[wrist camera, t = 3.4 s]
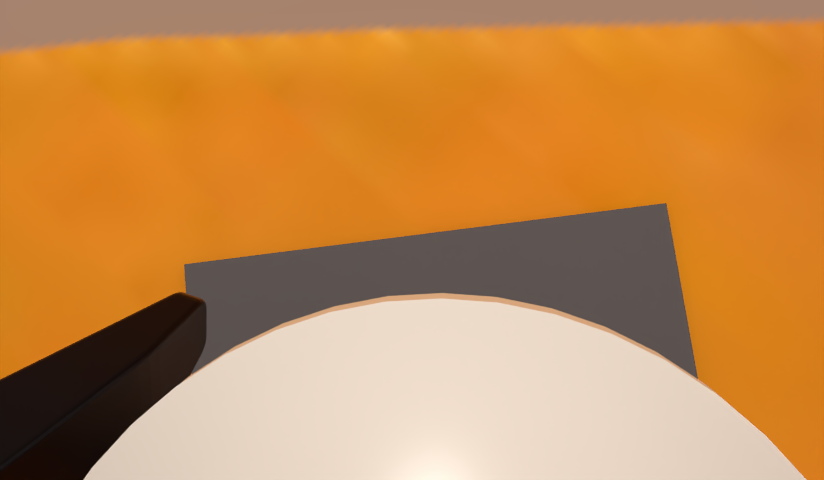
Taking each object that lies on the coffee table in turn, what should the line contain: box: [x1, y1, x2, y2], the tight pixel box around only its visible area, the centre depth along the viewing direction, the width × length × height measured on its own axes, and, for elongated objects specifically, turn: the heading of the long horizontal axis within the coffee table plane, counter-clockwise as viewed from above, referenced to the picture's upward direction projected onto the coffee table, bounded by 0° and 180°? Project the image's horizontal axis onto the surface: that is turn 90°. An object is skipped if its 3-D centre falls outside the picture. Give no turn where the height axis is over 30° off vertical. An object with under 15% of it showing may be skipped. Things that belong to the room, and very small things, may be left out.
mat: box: [184, 203, 698, 379], centre depth 17 cm, size 10×12×1 cm
